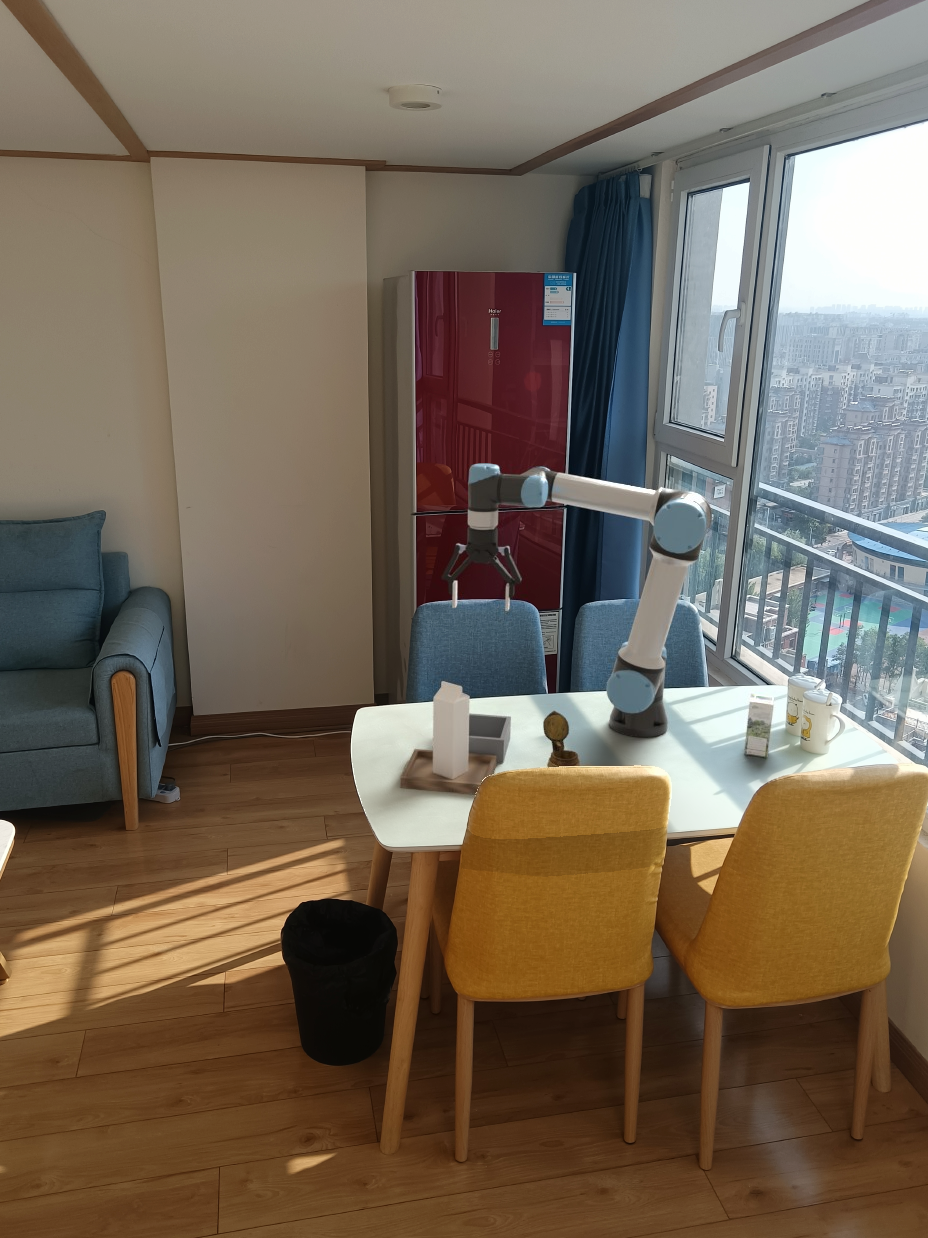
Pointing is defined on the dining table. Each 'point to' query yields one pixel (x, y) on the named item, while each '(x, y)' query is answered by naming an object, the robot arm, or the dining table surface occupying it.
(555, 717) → the wooden mug
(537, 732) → the dining table surface
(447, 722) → the milk
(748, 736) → the white drink carton
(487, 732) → the box
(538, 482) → the robot arm
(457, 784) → the tray
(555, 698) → the dining table surface
